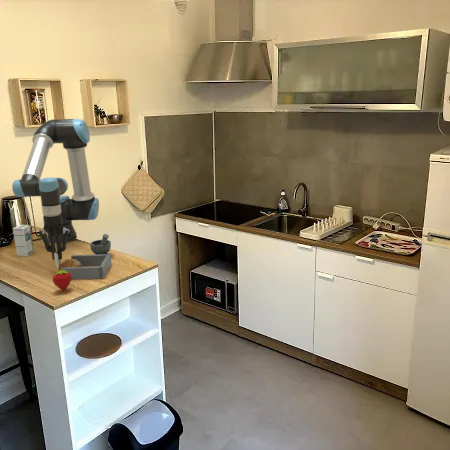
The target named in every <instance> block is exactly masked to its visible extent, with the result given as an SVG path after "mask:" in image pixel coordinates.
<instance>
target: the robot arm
mask: <svg viewBox="0 0 450 450" xmlns="http://www.w3.org/2000/svg"><path fill="white" fill-rule="evenodd" d="M90 140H91V138H90V129H89V127H88V124H87V122H86V121H85V120H83V119H81V118H80V119H78V118H63V119H61V118H60V119H56V118H54V119H49V120H46V121H45V122H44V123H42V124H41V125H40V126H38V128H37V129H36V130H35V132H34V133H33V136H32V146H31V150H30V152H29V155H28V158H27V161H26V164H25V167H24V170H23V173H22V176H21V178H20V179H19V178H18V179H15V180H14V181H13V182H12V186H11V187H12V192H13V194H14V196H15V197H18V198H19V197H21V198H28V197H29V198H30V197H33V198H34V197H40V202H41V210H42V218H43V228H42V229H40V230H39V231H38V234H39V236H41V240H42V241H43V243H44V246H45V250H46V252H47V253H49V252H50V253H51V259H52V260H54V264H55V268H58V269H59V266H60V265H61V264H62V263H61V260H62V259H63V252H65V251H66V249H67V243H68V242H69V243H70V242H72V241H75V240H76V239H77V238H78V235H77V232H76V230H75V228H74V225H73V221H94V220H95V219H97V217H98V215H99V210H100V201H99V198H98V197H95V193H93V192H92V190H91V184H90V177H89V176H90V175H89V168H88V162H87V156H86V148H87V146H88V144H89V142H90ZM55 144H62V147H63V149H65V150H66V152H67V158H68V164H69V170H70V178H71V183H72V188H73V189H72V190H73V195H71V198H70V196H69V195H65V194H66V192H67V191H68V189H69V183H68V182H67V180H66V179H65V178H63V177H44V178H41V177H42V174H43V171H44V168H45V165H46V160H47V158H48V154H49V153H50V152H49V151H50V149H51V148H53V146H54V145H55Z"/></svg>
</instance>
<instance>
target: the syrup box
mask: <svg viewBox="0 0 450 450" xmlns="http://www.w3.org/2000/svg"><path fill="white" fill-rule="evenodd" d="M31 230H32V229H31V226H30V225H29V224H18V225H17V226H15V227H12V231H13V239H14V245H15V251H16V255H17V257H29V256H30V255H32V254H35V250H34V243H33V238H32V231H31Z"/></svg>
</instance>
